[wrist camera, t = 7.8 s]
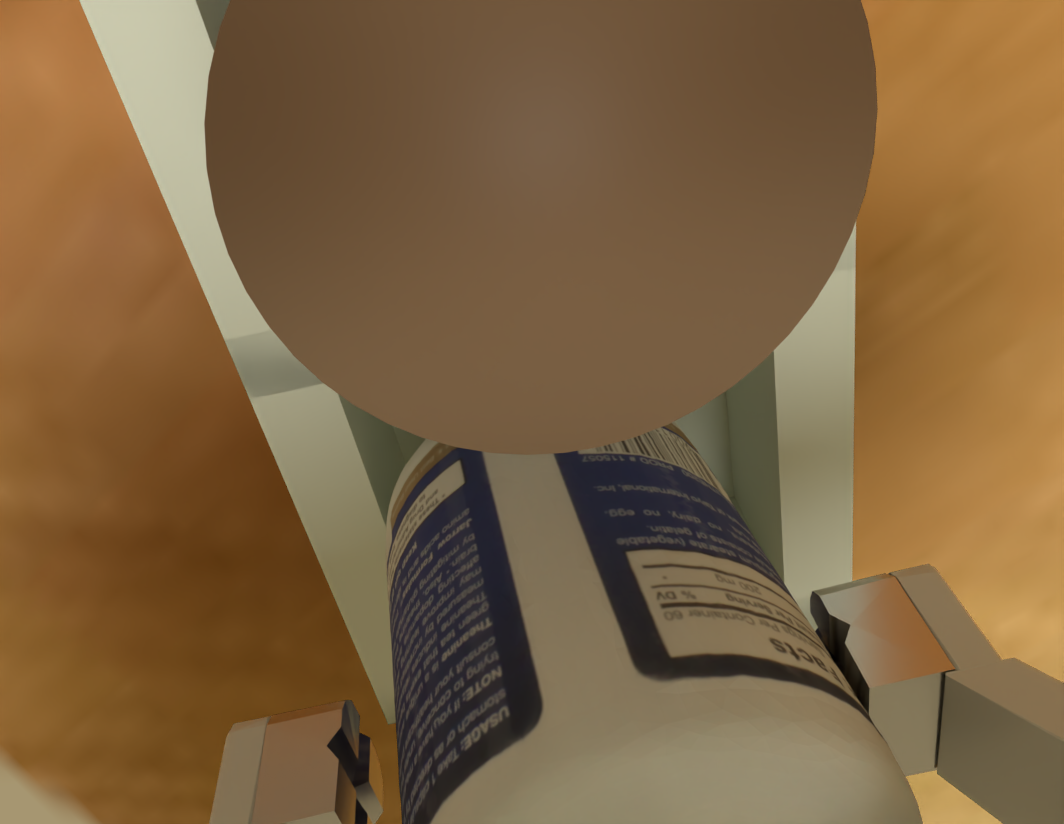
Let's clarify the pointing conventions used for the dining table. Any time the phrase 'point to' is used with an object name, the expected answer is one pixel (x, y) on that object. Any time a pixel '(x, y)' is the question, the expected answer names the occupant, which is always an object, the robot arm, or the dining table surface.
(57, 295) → the dining table surface
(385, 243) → the walnut dowel
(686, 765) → the pill bottle
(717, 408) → the rack
